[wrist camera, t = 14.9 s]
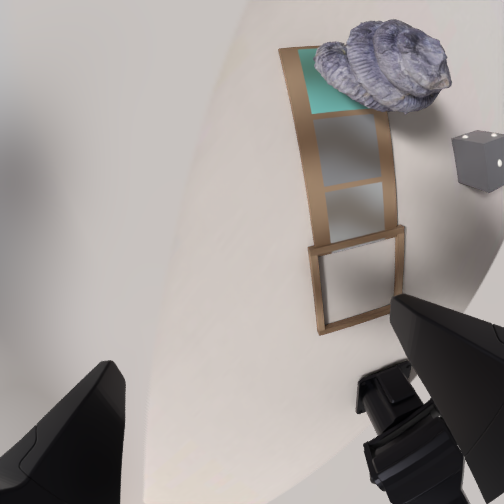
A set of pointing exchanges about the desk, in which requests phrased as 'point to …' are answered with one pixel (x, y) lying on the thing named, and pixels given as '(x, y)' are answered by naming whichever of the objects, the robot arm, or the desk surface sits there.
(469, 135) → the die
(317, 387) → the desk surface
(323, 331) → the frame
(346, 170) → the board
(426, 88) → the seashell
